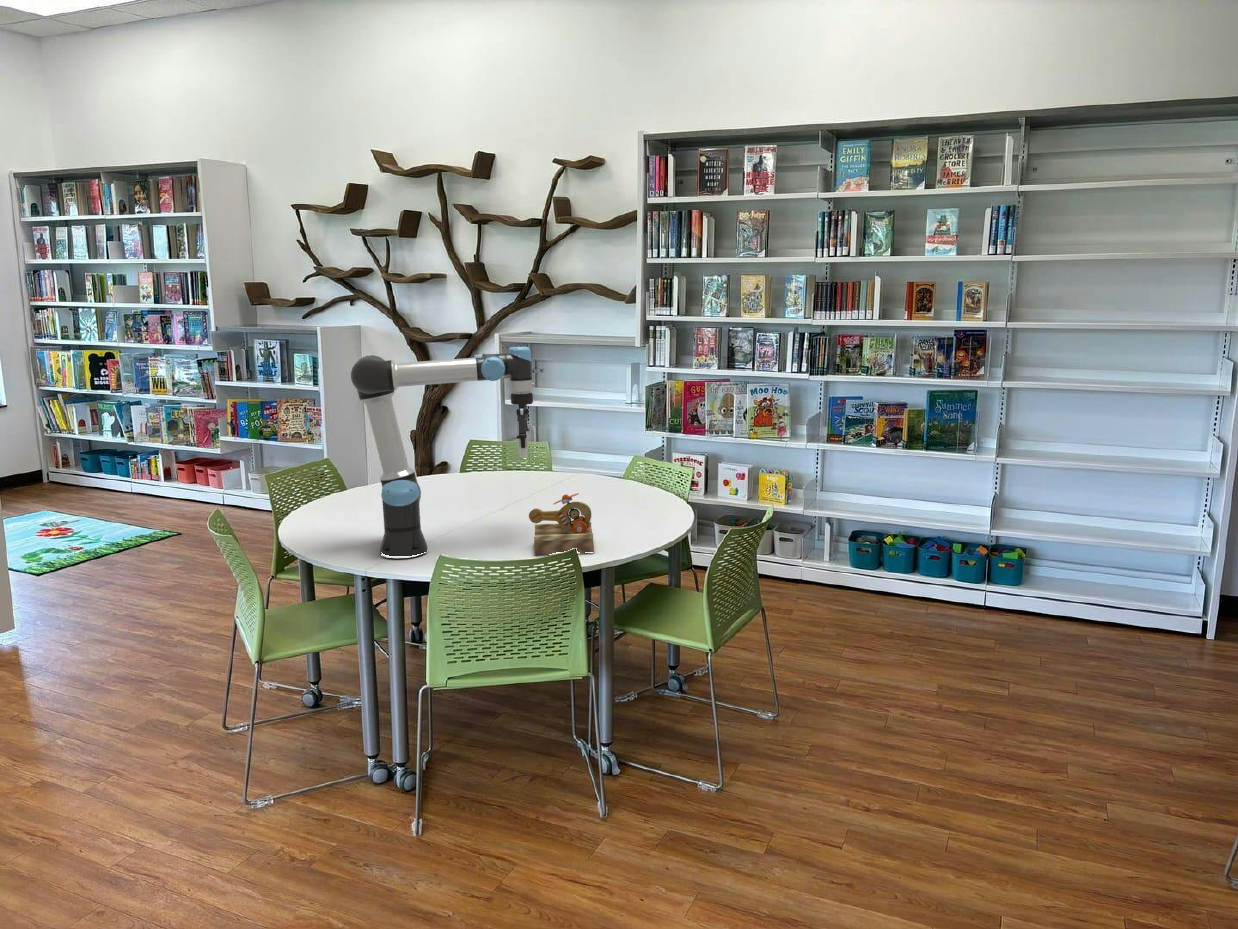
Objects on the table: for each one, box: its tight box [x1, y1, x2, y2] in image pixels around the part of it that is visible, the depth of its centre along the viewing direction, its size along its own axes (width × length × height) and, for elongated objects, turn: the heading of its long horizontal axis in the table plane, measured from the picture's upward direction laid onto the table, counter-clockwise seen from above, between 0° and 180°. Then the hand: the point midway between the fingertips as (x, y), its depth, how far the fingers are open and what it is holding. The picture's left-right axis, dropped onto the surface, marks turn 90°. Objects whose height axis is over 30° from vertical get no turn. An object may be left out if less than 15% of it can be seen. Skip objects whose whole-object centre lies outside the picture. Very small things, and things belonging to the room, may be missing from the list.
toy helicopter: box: [528, 492, 592, 534], centre depth 309 cm, size 8×21×14 cm, turn 84°
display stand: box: [533, 521, 595, 557], centre depth 310 cm, size 19×16×6 cm
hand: (524, 453), depth 324 cm, fingers open, 13 cm apart
